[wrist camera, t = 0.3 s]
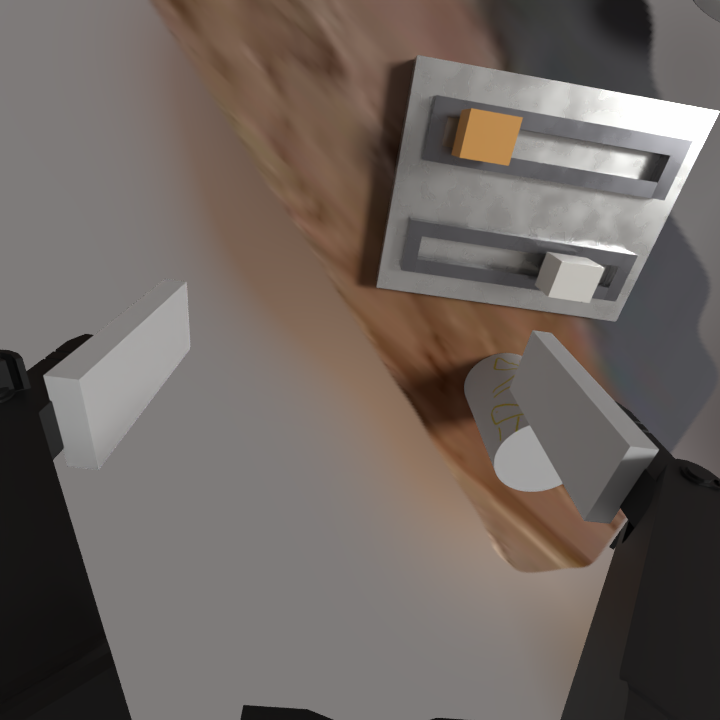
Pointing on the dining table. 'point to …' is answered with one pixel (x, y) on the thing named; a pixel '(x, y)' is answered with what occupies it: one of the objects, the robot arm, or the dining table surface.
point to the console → (532, 187)
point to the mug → (710, 7)
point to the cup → (507, 426)
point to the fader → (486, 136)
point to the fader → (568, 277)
